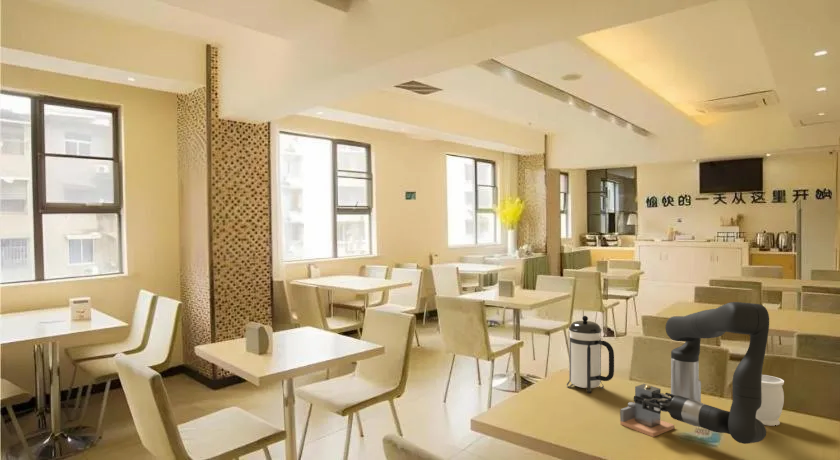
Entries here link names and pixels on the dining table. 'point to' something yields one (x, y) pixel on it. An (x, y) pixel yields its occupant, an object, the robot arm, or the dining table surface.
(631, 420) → the dock
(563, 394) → the dining table surface
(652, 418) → the block
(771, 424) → the jar
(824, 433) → the dining table surface
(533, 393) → the dining table surface
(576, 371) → the coffee press
